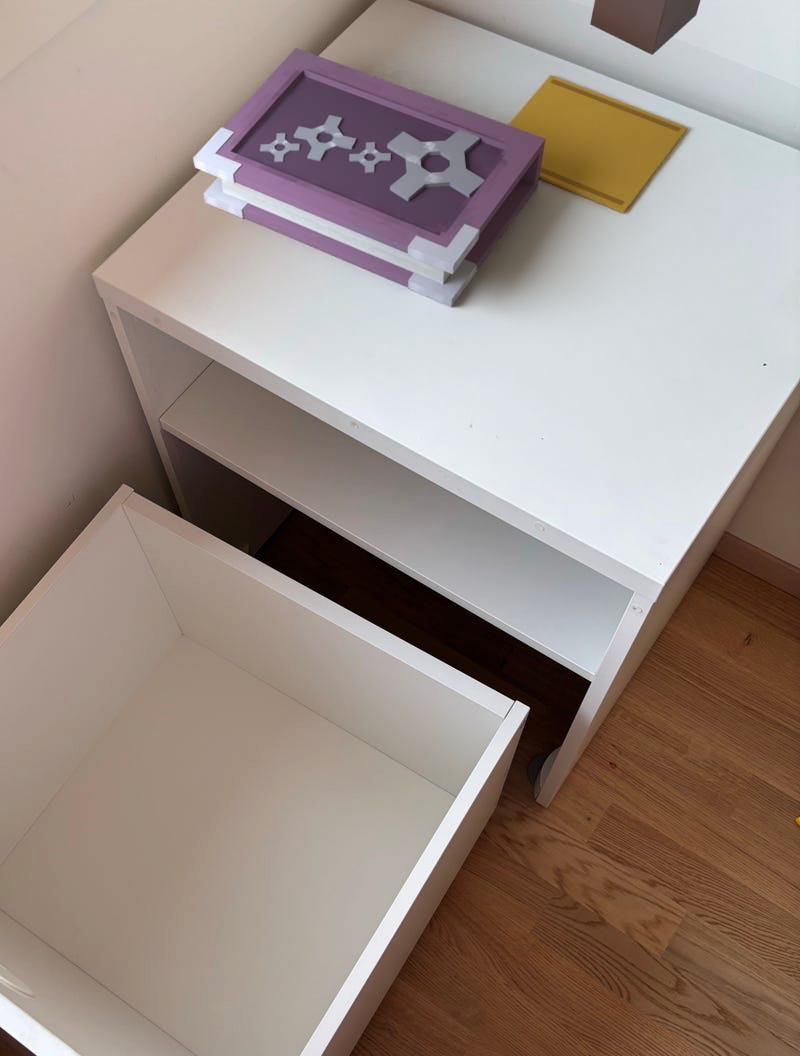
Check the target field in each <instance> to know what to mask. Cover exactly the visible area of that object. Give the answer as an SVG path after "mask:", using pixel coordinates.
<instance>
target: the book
mask: <svg viewBox="0 0 800 1056" xmlns="http://www.w3.org/2000/svg"><path fill="white" fill-rule="evenodd" d="M544 145H545V138H542V137H540V136H537V135H534V134H531V133H529V132H526V131H523V130H520V129H518V128H515V127H512V126H509V124H507V123H504V122H501V121H498V120H496V119H492V118H491V117H488V116H485V115H481V114H480V113H476V112H474V111H471V110H467V109H465V108H463V107H460V106H457V105H454V104H452V103H449V102H446V101H443V100H440V99H438V98H435V97H432V96H429V95H427V94H423V93H421V92H418V91H415V90H413V89H410V88H407V87H405V86H402V85H399V84H397V83H395V82H391V81H389V80H386V79H383V78H380V77H376V76H374V75H372V74H369V73H366V72H364V71H361V70H358V69H355V68H353V67H349V66H347V65H344V64H342V63H338V62H335V61H333V60H330V59H328V58H326V57H322V56H319V55H316V54H313V53H312V52H308V51H307V50H303V49H300V48H296V47H295V48H294V49H293V50H292V51H291V52H290V54H288V56H287V57H286V58H285V59H284V60H283V61H282V62H281V64H280V65H278V67H277V68H276V69H275V70H274V71H273V72H272V73H271V74H270V75H269V77H268V78H266V80H265V81H264V82H263V83H262V85H261V86H259V88H258V89H257V90H256V91H255V92H254V93H253V94H252V95H251V96H250V97H249V99H248V100H247V101H246V102H245V103H244V104H243V105H242V106H241V107H240V109H239V110H238V111H237V112H236V113H235V114H234V115H233V116H232V117H231V118H230V119H229V121H228V122H227V123H226V124H225V125H224V126H221V127H220V128H219V129H218V130H217V131H216V132H215V133H214V134H213V135H212V137H211V138H210V139H209V140H208V141H207V142H206V143H205V144H204V146H202V147H201V149H200V150H199V151H197V153H196V154H195V155H194V156H193V157H192V160H193V164H194V168H195V169H198V170H200V171H202V172H204V173H206V174H207V173H208V174H210V175H212V176H214V177H217V178H215V180H213V182H212V184H210V185H209V186H208V188H206V190H205V191H204V192H203V194H202V195H203V197H204V198H203V199H204V203H205V204H208V205H210V206H212V207H215V208H216V209H220V210H222V211H223V212H226V213H229V214H231V215H233V216H235V217H239V218H240V219H246V220H249V221H250V222H251V221H252V222H253V223H257V224H258V225H261V226H263V227H265V228H267V229H270V230H272V231H275V232H277V233H280V234H281V235H284V236H286V237H289V238H291V239H293V240H296V241H298V242H301V243H303V244H305V245H308V246H310V247H312V248H314V249H317V250H319V251H322V252H324V253H326V254H329V255H330V256H333V257H336V258H338V259H341V260H342V261H345V262H346V263H347V262H348V263H350V264H353V265H355V266H357V267H359V268H361V269H364V270H366V271H369V272H371V273H374V274H375V275H378V276H380V277H382V278H385V279H388V280H390V281H392V282H394V283H397V284H399V285H402V286H404V287H406V288H407V289H409V290H411V291H413V292H415V293H417V294H420V295H422V296H424V297H426V298H429V299H431V300H433V301H436V302H438V303H440V304H443V305H444V306H448V307H449V308H452V307H453V306H454V304H455V303H456V302H457V300H458V299H459V297H460V296H461V295H462V294H463V292H464V290H465V289H466V288H467V286H468V285H469V283H470V282H471V281H472V279H473V278H474V276H475V275H476V274H477V271H478V269H479V268H480V267H481V265H482V264H483V263H484V262H485V260H486V259H487V257H488V256H489V254H490V253H491V252H492V251H493V249H494V248H495V246H496V244H497V243H498V242H499V240H500V239H501V237H502V236H503V235H504V233H505V232H506V231H507V229H509V226H510V225H511V224H512V223H513V221H514V220H515V218H516V217H517V215H518V214H519V213H520V211H521V210H522V208H524V206H525V205H526V203H527V202H528V200H529V199H530V198H531V196H532V194H534V192H535V191H536V189H537V188H538V186H539V181H540V178H539V175H540V169H541V163H542V157H543V151H544Z"/></svg>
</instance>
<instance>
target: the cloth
mask: <svg viewBox="0 0 800 1056" xmlns="http://www.w3.org/2000/svg"><path fill="white" fill-rule="evenodd" d="M508 125H509V126H512V127H515V128H518V129H520V130H523V131H526V132H529V133H531V134H534V135H537V136H540V137H542V138H545V145H544V151H543V157H542V163H541V169H540V175H539V180H543V181H544V182H547V183H549V184H552V185H554V186H557V187H559V188H562V189H564V190H566V191H569V192H571V193H573V194H576V195H578V196H581V197H583V198H586V199H588V200H590V201H593V202H595V203H597V204H600V205H602V206H604V207H608V208H609V209H612V210H614V211H617V212H619V213H621V214H625V213H626V212H627V210H628V209H629V208H630V206H631V205H632V204H633V202H634V201H635V200H636V198H637V197H638V196H639V195H640V193H641V192H642V191H643V189H644V188H645V187H646V185H647V184H648V183H649V181H650V180H651V178H652V177H653V176H654V175H655V173H656V172H657V170H658V169H659V167H661V165H662V164H663V162H664V161H665V160H666V158H668V156H669V155H670V153H671V152H672V151H673V149H674V148H675V147H676V145H677V143H678V142H680V140H681V139H682V138H683V136H684V135H685V133H686V132H687V131H688V126H686V125H683V124H680V123H677V122H675V121H672V120H669V119H667V118H664V117H661V116H660V115H656V114H653V113H651V112H650V111H649V112H648V111H646V110H643V109H641V108H638V107H637V106H632V105H630V104H628V103H626V102H623V101H620V100H617V99H616V98H612V97H610V96H607V95H604V94H601V93H599V92H596V91H593V90H592V89H589V88H586V87H583V86H581V85H579V84H575V83H573V82H570V81H568V80H566V79H562V78H560V77H557V76H555V75H552V74H550V75H549V76H548V77H547V79H546V80H545V81H544V82H543V83H542V84H541V86H540V87H539V88H537V90H536V92H534V94H533V95H532V96H531V97H530V98H529V100H528V101H527V102H526V103H525V104H524V105H523V107H522V108H521V109H520V110H519V112H518V113H517V114H516V115H515V116H514V117H513V118H512V120H511V121H510V122H508Z"/></svg>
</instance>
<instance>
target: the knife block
mask: <svg viewBox="0 0 800 1056" xmlns="http://www.w3.org/2000/svg"><path fill="white" fill-rule="evenodd" d="M700 4H701V0H594V3H593V8H592V13H591V19H590V23H589V25H590V26H592V27H594V28H597V29H598V30H601V31H603V32H605V33H607V34H608V35H611V36H612V37H615V38H616V39H618V40H620V41H622V42H624V43H627V44H628V45H631V46H633V47H635V48H637V49H639V50H642V51H643V52H645V53H647V54H649V55H652V56H653V55H654V54H656V52H658V51H659V50H660V49H661V48H662V47H663V46H664V45H666V43H667V42H669V41H670V40H671V39H672V38H673V37H674V36H675V35H677V34H678V32H680V31H681V30H682V29H683V28H684V27H686V25H687V24H689V23H690V22H691V21H692V20H693V19H694V18H695V17H696V16H697V14H698V10H699V7H700Z"/></svg>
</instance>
